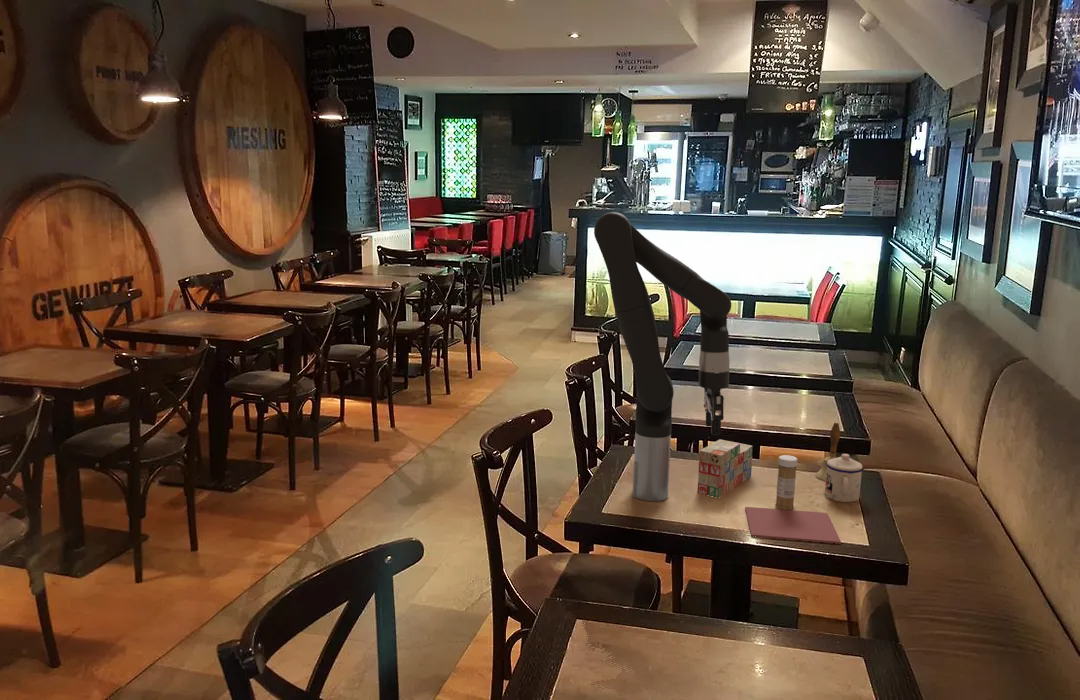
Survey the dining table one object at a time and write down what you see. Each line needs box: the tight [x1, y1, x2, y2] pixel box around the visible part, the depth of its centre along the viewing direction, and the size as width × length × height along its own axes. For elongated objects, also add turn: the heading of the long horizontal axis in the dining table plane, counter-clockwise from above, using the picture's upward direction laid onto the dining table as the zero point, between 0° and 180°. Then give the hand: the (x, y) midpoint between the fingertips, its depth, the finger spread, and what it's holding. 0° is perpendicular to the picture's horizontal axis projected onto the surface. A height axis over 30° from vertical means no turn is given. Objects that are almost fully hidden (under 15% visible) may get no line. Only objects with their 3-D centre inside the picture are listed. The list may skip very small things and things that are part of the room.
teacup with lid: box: [824, 453, 864, 503], centre depth 211 cm, size 12×9×12 cm
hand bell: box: [815, 422, 841, 482], centre depth 226 cm, size 8×8×16 cm
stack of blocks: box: [697, 439, 754, 499], centre depth 220 cm, size 21×6×12 cm, turn 143°
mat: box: [744, 506, 842, 545], centre depth 194 cm, size 20×17×1 cm
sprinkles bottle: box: [775, 454, 798, 510], centre depth 204 cm, size 5×5×13 cm
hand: (712, 430), depth 206 cm, fingers open, 8 cm apart
